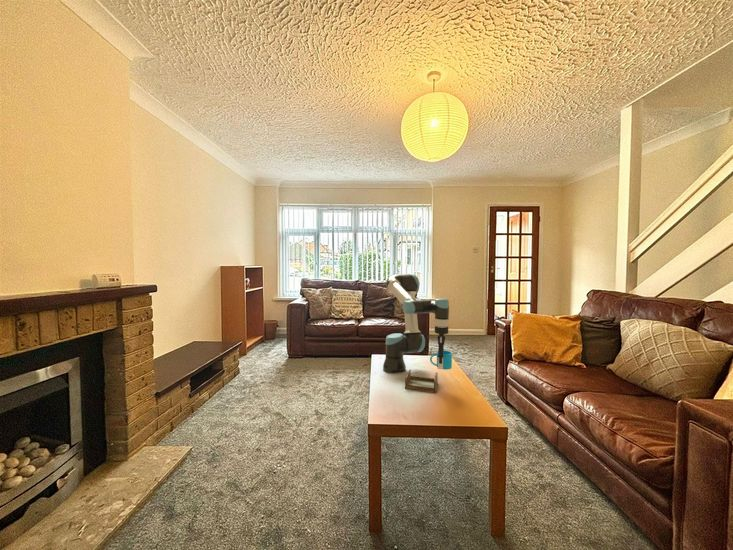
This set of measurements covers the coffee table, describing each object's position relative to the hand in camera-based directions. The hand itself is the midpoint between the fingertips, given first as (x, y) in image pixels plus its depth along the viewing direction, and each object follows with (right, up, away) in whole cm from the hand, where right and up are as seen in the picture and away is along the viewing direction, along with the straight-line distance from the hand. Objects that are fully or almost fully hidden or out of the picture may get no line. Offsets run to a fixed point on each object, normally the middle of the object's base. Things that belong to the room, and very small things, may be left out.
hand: (440, 366), depth 167 cm
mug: (0, 0, 0) cm, 1 cm away
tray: (-10, -12, +4) cm, 16 cm away
